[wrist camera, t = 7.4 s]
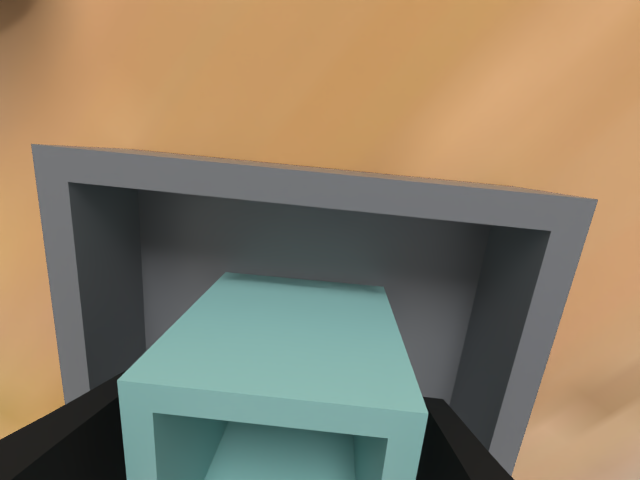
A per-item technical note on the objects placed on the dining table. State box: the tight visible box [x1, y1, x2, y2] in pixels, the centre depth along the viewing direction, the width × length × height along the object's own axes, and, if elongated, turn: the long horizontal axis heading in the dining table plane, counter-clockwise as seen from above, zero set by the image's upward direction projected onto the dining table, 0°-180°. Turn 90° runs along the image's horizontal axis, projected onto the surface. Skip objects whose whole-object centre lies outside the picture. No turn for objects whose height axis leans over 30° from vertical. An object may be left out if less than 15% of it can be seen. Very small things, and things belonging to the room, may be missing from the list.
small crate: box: [117, 272, 428, 480], centre depth 9 cm, size 5×5×6 cm
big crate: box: [31, 144, 598, 476], centre depth 11 cm, size 13×13×4 cm
